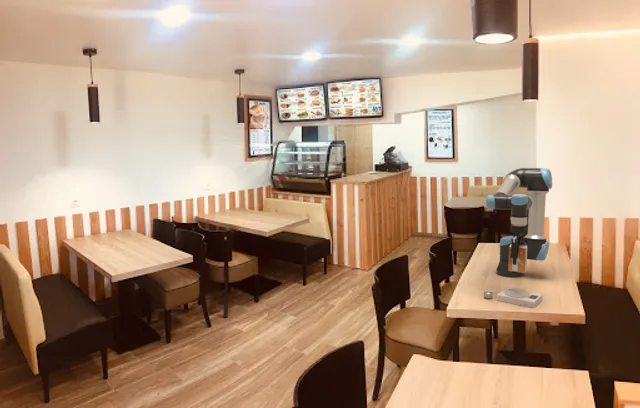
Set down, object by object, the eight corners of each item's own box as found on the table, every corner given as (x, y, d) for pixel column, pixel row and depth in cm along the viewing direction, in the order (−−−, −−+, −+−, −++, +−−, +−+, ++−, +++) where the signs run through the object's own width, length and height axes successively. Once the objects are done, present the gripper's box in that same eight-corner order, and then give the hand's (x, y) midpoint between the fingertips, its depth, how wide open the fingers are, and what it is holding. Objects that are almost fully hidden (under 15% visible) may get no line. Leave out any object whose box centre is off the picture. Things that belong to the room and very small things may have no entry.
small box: (508, 271, 233) (508, 246, 231) (509, 268, 238) (510, 243, 236) (525, 273, 229) (526, 248, 227) (526, 269, 234) (527, 245, 232)
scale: (497, 300, 236) (497, 293, 235) (506, 292, 246) (507, 285, 245) (533, 308, 224) (534, 300, 223) (542, 299, 234) (542, 292, 233)
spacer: (485, 296, 243) (485, 290, 242) (494, 297, 240) (494, 292, 239) (482, 298, 240) (482, 292, 239) (490, 300, 237) (491, 294, 236)
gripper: (517, 221, 240) (516, 263, 243) (504, 227, 225) (502, 272, 228) (533, 222, 235) (531, 265, 238) (519, 228, 220) (518, 274, 224)
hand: (517, 268), depth 233 cm, fingers closed on small box, 7 cm apart
